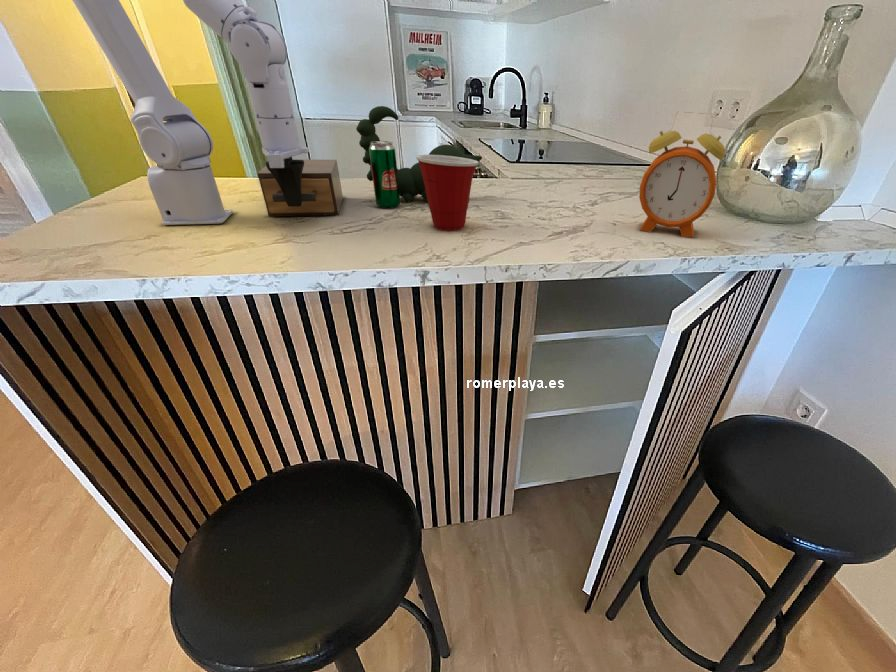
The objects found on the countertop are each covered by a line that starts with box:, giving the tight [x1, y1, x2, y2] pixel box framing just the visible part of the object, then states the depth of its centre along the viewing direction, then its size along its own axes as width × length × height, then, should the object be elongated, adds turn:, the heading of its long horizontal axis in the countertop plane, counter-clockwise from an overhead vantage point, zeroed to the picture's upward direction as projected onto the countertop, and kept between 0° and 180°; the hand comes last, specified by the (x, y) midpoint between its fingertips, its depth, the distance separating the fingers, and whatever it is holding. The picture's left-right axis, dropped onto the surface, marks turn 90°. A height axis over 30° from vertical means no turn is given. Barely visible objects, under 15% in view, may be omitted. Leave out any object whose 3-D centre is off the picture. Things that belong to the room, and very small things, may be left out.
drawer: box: [261, 178, 334, 213], centre depth 86 cm, size 18×11×6 cm, turn 14°
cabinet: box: [256, 159, 344, 218], centre depth 90 cm, size 15×13×8 cm
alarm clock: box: [638, 111, 727, 239], centre depth 82 cm, size 13×6×20 cm, turn 70°
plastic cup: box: [415, 154, 480, 232], centre depth 81 cm, size 11×11×12 cm
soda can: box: [369, 140, 401, 209], centre depth 91 cm, size 5×5×12 cm
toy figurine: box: [355, 105, 483, 203], centre depth 95 cm, size 9×19×25 cm
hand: (295, 205), depth 79 cm, fingers closed, pressing on drawer
